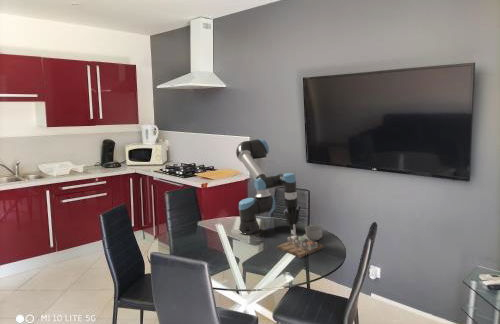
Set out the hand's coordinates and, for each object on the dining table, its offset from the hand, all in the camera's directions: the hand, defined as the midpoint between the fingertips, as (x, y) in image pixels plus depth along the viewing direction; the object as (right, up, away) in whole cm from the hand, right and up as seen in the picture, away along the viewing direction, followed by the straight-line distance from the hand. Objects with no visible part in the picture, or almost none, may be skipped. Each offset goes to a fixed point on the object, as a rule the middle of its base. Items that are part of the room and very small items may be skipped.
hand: (293, 233), depth 234 cm
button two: (+5, -4, -6) cm, 8 cm away
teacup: (+15, -5, +8) cm, 17 cm away
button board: (+3, -8, -6) cm, 10 cm away
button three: (+9, -6, -11) cm, 15 cm away
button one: (+1, -5, 0) cm, 5 cm away
